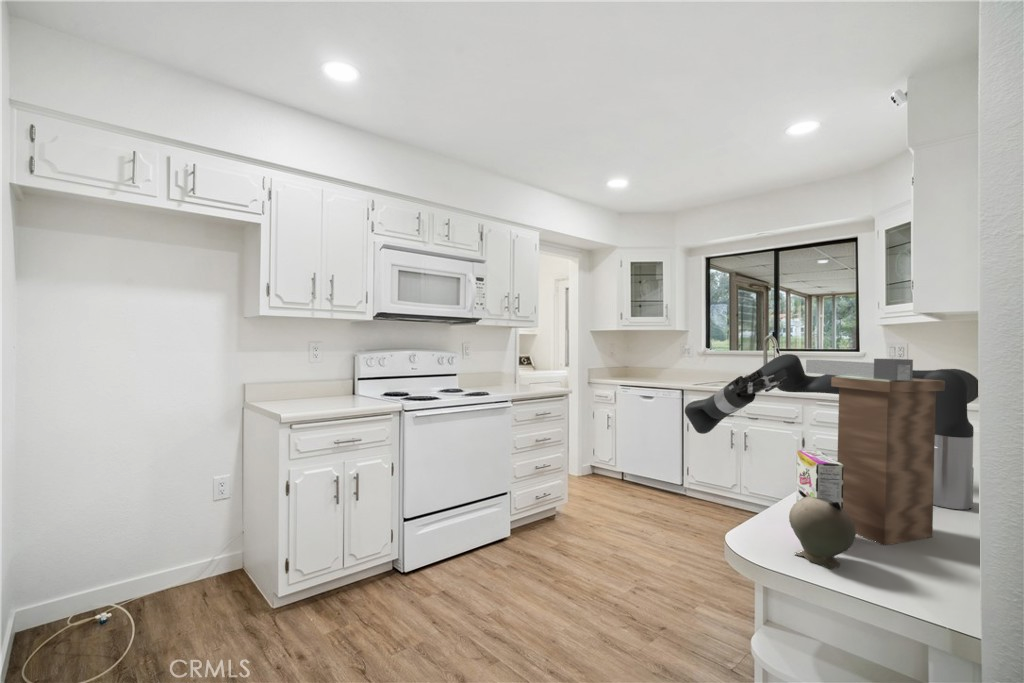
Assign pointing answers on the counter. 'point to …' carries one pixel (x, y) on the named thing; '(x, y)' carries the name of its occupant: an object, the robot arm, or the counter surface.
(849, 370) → the brushed steel block
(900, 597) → the counter surface
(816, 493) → the candy bar box
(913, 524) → the stand
